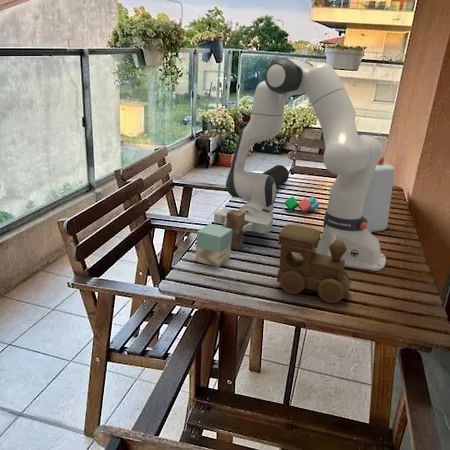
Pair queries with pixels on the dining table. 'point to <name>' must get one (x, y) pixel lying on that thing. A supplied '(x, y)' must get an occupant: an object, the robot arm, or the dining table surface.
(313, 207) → the building blocks
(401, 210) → the dining table surface
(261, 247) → the dining table surface
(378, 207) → the plastic bottle
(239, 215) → the walnut post
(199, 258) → the lower block
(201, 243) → the upper block
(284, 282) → the wooden toy train
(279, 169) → the portable speaker
